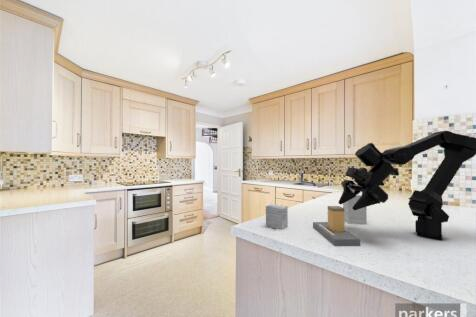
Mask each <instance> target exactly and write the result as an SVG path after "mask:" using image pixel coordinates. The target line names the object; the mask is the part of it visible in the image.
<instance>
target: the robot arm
mask: <svg viewBox="0 0 476 317" xmlns="http://www.w3.org/2000/svg"><path fill="white" fill-rule="evenodd" d="M437 146H438V147H439V148H442V149H443V155H444V158H443V160H442V161H441V163H440V164H439V165H438V168H437V169H436V171H435V172H434V173H433V175H432V176H431V178H430V180H429V181H428V183H427V184H426V186H425V188H423V189H422V190H414V191H412V195H411V196H410V197H409V198H408V200H409V201H408V204H407V205H408V207H409V210H410V212H411V214H412V216H414V217H417V219H415V221H414V222H415V223H414V224H415V233H416V235H417V236H418V237H423V238H428V239H434V240H438V241H439V240H440V241H443V232H442V229H443V228H442V227H443V226H442V225H443V223H448V222H449V218H450V216H449V214H448V213H447V212H446V211H445V210H444V209H443V207H444V202H443V201H444V200H443V194H444V193H445V191H446V190H447V188H448V187H449V185H450V184H451V182H452V180H453V179H454V178H455V176H456V174H457V173H458V171H459V169H460V168H461V167H462V165H463V163H465V162H467V161H468V160H470V159H471V158H473V157H474V158H475V156H476V137H475V136H469V135H465V134H459V133H455V132H452V131H450V130H442V131H435V132H433V133H431V134H428V135H427V136H425V137H422V138H420V139H418V140H415V141H414V142H410V143H408V144H406V145H402V146H397V147H393V148H389V149H385V150H383V152H381V151H380V150H379V149H378V148H377V147H376V145H375V144H374V142H370V143H369V142H368V143H367V144H366V145H363V146H362V147H360V148H358V149H357V150H356V151H355V153H354V155H355V156H356V158H358V160H360V162H361V163H362V164H364V166H365V167H364V166H363V167H359V168H358V167H357V168H356V167H347V170H346V172H345V174H344V175H345V176H346V177H349V178H351V179H353V180H350V179H344V180H343V181H342V182H341V186H342V188H343V189H342V190H343V191H342V194H341V196H340V198H339V200H338V204H339V205H343V203H345V202H347V201H349V200H351V199H352V198H354V197H356V195H357V194H359V193H361V194H362V196H361V197H360V198H359V200H358V201H357V202H356V203H355V205H354V206H353V207H352V209H353V210H358V209H361V208H364V207H366V208H367V207H370V206H374V205H377V204H381V203H383V204H385V203H386V202H387V201H388V200H389V194H388V193H387V192H386V191H385V190H384V189H383V188H382V187H383V186H384V185H385V181H386V180H387V179H388V178H389V177H390V176H397V177H399V176H400V172H399V168H398V167H394V165H395V166H401V165H402V166H404V165H406V164H408V163H409V162H411V161H412V160H413V159H414V158H415V157H416V156H417V155H419V154H421V153H423V152H425V151H428V150H430V149H432V148H435V147H437ZM366 167H371V168H370V169H367V168H366Z"/></svg>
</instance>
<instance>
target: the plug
mask: <svg viewBox="0 0 476 317" xmlns="http://www.w3.org/2000/svg"><path fill="white" fill-rule="evenodd" d="M327 222H328V229H329V230H330V231H332V232H344V229H345V220H344V208H343V206H342V207H341V205H340V206H339V205H327Z"/></svg>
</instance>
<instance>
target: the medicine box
mask: <svg viewBox="0 0 476 317" xmlns="http://www.w3.org/2000/svg"><path fill="white" fill-rule="evenodd" d="M288 217H289V216H288V206H283V205H278V204H268V205H266V206H265V226H266V227H267V228H272V229H276V230H277V229H278V230H283V231H284V230H285V229H288V227H289V225H288V224H289V223H288V222H289V221H288V220H289V218H288Z"/></svg>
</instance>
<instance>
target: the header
mask: <svg viewBox="0 0 476 317" xmlns="http://www.w3.org/2000/svg"><path fill="white" fill-rule="evenodd" d="M312 227H313V229H314V230H316V231H317V232H318V233H319V234H320V235H321V236H322V237H324V238H325V239H326V240H327V241H328V242H330V243H331V245H333V246H334V247H361V239H360V238H359V237H358V236H356V235H354V234H353V233H350V232H349V231H348V230H347V229H345V228H344V232H332V231H330V230H329V229H328V221H313V222H312Z"/></svg>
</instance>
